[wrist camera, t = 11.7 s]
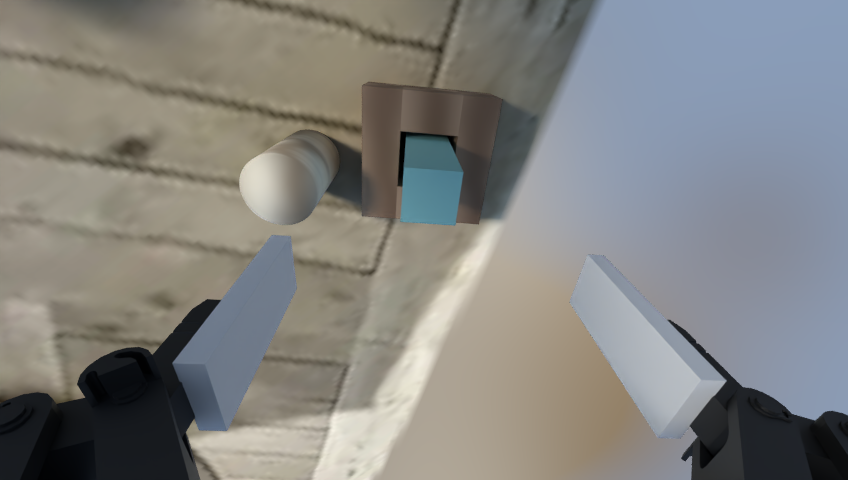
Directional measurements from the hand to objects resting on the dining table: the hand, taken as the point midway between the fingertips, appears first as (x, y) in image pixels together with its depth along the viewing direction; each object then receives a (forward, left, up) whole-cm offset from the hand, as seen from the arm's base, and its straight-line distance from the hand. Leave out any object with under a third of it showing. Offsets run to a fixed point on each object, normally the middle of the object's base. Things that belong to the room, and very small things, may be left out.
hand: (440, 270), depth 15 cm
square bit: (0, 0, -23) cm, 23 cm away
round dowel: (-12, -2, -23) cm, 26 cm away
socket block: (0, 0, -23) cm, 23 cm away
